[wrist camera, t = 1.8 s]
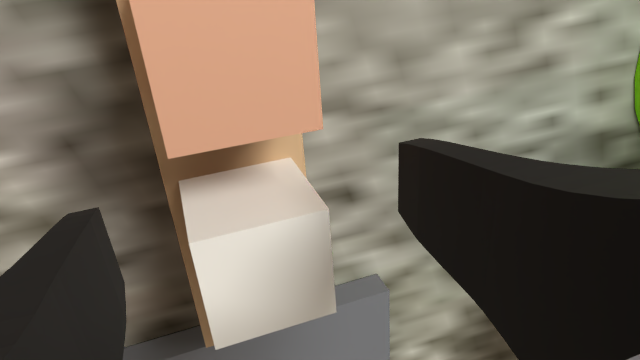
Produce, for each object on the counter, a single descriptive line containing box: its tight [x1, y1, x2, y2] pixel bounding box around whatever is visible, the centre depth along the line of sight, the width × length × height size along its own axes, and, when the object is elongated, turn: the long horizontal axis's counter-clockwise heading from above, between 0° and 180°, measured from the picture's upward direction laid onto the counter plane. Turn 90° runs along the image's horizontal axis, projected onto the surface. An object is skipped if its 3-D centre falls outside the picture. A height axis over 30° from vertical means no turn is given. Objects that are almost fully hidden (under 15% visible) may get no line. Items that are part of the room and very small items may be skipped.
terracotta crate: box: [129, 0, 323, 159], centre depth 12 cm, size 4×4×4 cm
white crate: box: [179, 157, 337, 350], centre depth 15 cm, size 4×4×4 cm
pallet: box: [116, 0, 306, 348], centre depth 17 cm, size 5×18×4 cm, turn 5°
